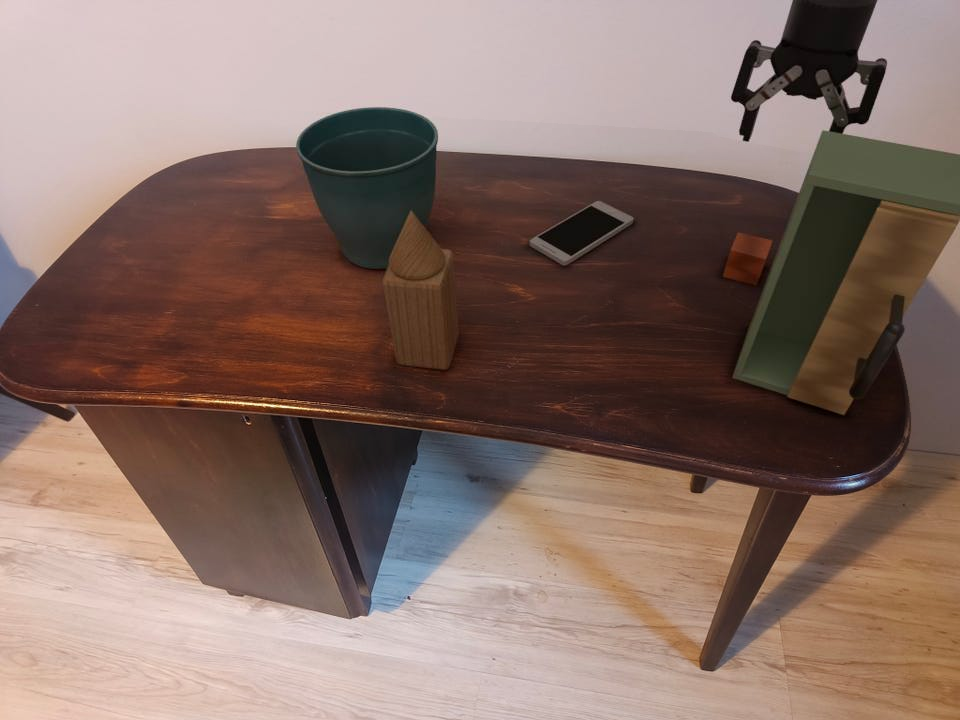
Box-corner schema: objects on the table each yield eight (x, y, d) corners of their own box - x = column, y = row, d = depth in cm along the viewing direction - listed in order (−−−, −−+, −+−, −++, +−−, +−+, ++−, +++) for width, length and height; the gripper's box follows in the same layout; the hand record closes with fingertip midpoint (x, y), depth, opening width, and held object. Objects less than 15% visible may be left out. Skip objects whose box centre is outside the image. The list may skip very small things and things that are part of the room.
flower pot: (422, 201, 102) (411, 96, 90) (465, 263, 90) (459, 151, 78) (311, 229, 97) (283, 122, 85) (341, 298, 85) (313, 185, 73)
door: (844, 411, 68) (956, 223, 51) (838, 451, 64) (956, 263, 48) (787, 393, 70) (877, 206, 53) (778, 430, 66) (871, 243, 50)
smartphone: (634, 222, 96) (635, 217, 95) (564, 266, 89) (565, 261, 88) (597, 204, 100) (598, 199, 99) (528, 245, 93) (528, 240, 92)
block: (762, 267, 88) (772, 240, 84) (756, 286, 85) (766, 258, 82) (729, 259, 89) (738, 231, 86) (722, 277, 86) (730, 249, 83)
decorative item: (395, 366, 76) (369, 225, 62) (408, 329, 81) (388, 189, 66) (449, 372, 75) (436, 230, 61) (460, 334, 80) (450, 193, 66)
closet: (853, 360, 75) (967, 155, 56) (843, 417, 69) (968, 209, 50) (748, 330, 79) (822, 129, 60) (730, 381, 73) (807, 177, 54)
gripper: (754, -7, 62) (715, 148, 74) (916, 12, 58) (847, 174, 69) (768, -28, 67) (729, 121, 79) (920, -12, 62) (854, 144, 74)
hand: (784, 146), depth 74 cm, fingers open, 8 cm apart
